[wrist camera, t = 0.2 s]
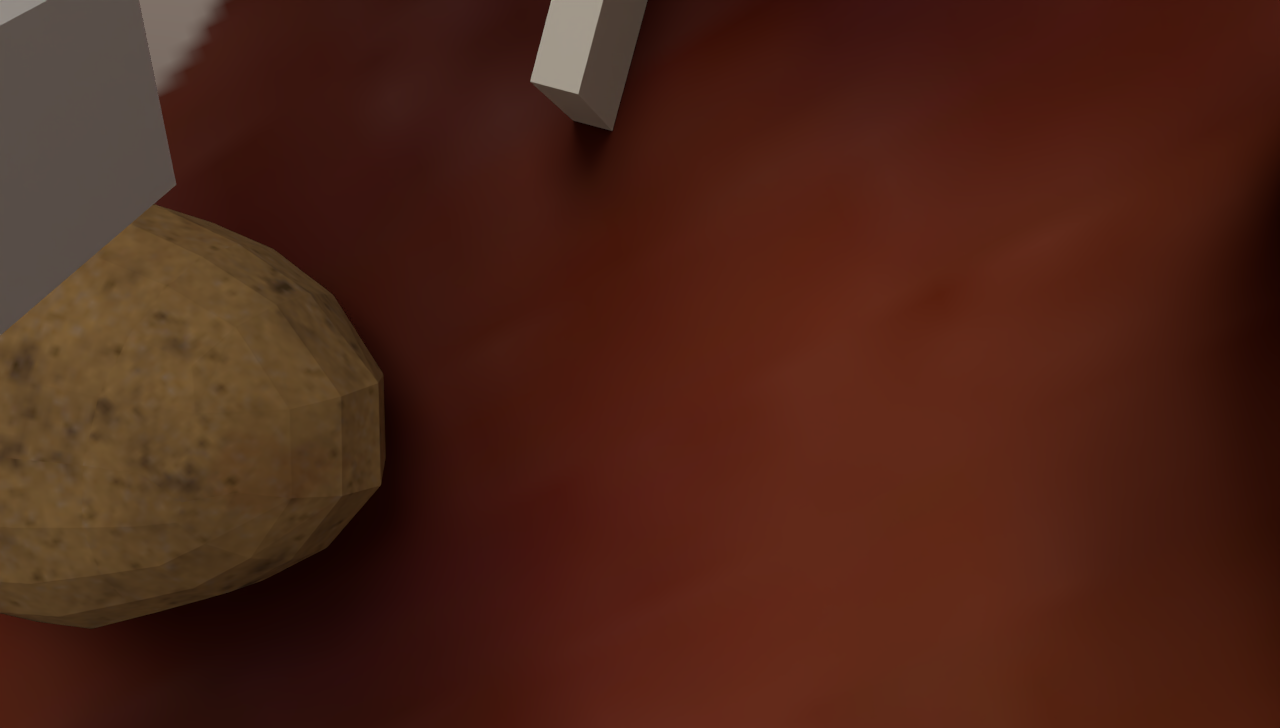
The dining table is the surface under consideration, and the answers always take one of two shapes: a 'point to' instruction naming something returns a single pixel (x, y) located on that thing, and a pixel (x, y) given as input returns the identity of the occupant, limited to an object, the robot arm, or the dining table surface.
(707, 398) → the dining table surface
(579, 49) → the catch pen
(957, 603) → the dining table surface
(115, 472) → the potato
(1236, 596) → the dining table surface
